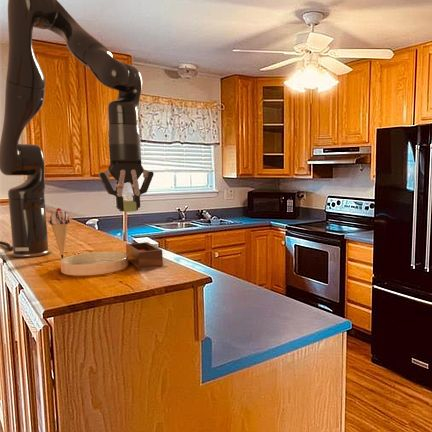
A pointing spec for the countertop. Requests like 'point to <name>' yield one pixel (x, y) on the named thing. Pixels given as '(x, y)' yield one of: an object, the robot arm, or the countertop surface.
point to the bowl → (94, 263)
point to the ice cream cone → (60, 228)
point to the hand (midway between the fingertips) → (128, 210)
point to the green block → (129, 206)
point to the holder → (144, 255)
